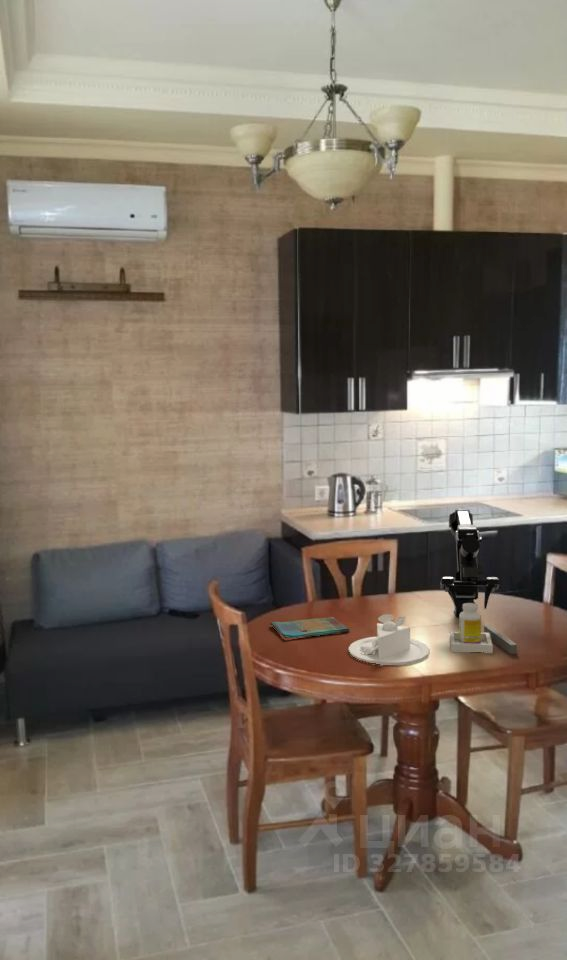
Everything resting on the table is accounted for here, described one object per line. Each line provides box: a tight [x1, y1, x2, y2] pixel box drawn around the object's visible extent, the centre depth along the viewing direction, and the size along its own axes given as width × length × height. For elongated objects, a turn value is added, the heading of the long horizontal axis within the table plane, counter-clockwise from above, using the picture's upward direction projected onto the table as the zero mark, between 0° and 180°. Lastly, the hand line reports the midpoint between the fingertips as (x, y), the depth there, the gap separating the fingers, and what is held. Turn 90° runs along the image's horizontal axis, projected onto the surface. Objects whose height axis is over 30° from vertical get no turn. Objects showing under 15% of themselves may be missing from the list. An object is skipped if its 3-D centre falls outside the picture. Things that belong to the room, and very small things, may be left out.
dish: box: [348, 613, 430, 667], centre depth 247 cm, size 25×25×11 cm
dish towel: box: [270, 616, 351, 638], centre depth 271 cm, size 17×23×3 cm
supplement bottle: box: [458, 603, 482, 644], centre depth 250 cm, size 7×7×13 cm
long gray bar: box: [483, 624, 518, 655], centre depth 252 cm, size 20×2×3 cm, turn 9°
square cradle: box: [449, 631, 494, 654], centre depth 250 cm, size 12×12×2 cm
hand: (470, 608), depth 259 cm, fingers open, 9 cm apart
